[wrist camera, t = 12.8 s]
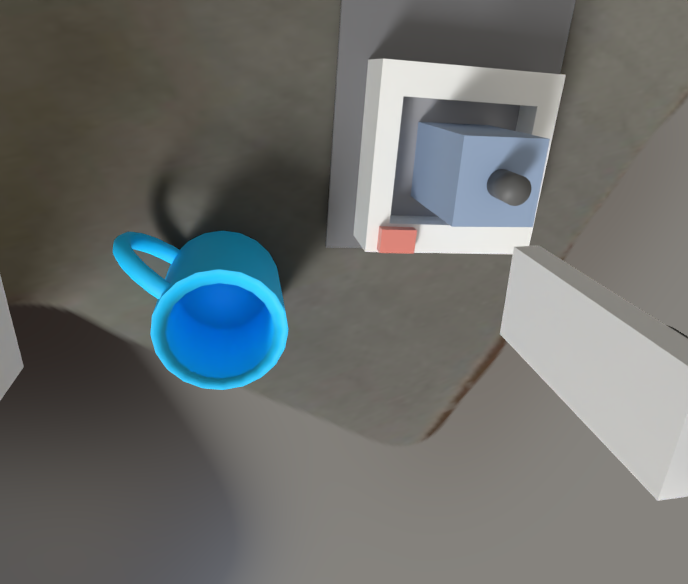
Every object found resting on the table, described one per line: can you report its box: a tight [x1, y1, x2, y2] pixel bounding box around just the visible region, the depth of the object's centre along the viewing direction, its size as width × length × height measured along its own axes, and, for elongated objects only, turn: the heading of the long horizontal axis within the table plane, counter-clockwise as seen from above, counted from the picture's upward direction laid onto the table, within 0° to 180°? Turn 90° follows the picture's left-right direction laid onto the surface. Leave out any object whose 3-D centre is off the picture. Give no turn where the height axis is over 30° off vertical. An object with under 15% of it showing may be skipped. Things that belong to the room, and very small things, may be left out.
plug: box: [411, 122, 550, 227], centre depth 32 cm, size 5×5×10 cm
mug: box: [113, 231, 288, 390], centre depth 35 cm, size 12×8×8 cm
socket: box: [325, 0, 576, 254], centre depth 36 cm, size 18×16×5 cm
